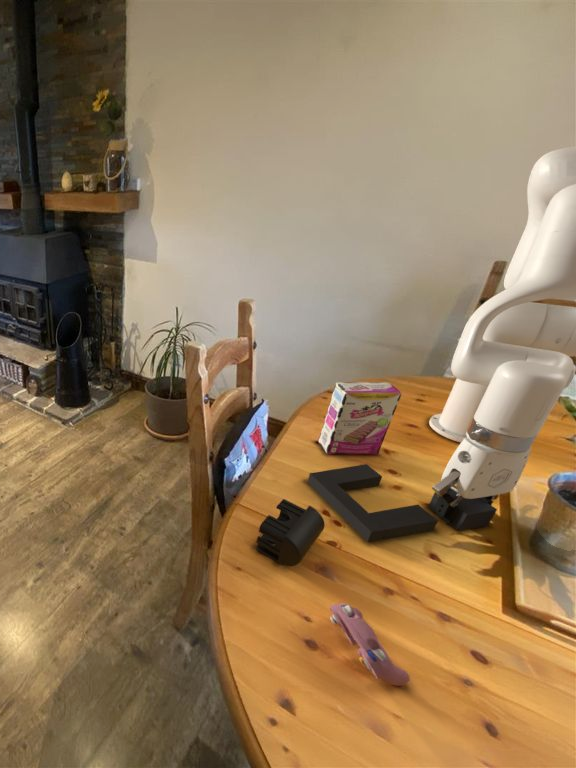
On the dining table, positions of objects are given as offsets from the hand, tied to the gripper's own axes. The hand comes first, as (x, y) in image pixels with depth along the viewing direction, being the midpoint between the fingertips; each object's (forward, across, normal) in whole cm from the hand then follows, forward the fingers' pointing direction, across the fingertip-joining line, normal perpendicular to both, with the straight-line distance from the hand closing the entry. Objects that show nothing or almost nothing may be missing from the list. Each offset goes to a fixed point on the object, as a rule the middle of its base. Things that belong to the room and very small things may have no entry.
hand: (458, 513), depth 76 cm
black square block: (+1, 0, 0) cm, 1 cm away
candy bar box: (+1, -4, +22) cm, 22 cm away
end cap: (+1, -34, 0) cm, 34 cm away
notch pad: (+1, -13, +6) cm, 14 cm away
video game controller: (+1, -35, -18) cm, 39 cm away
